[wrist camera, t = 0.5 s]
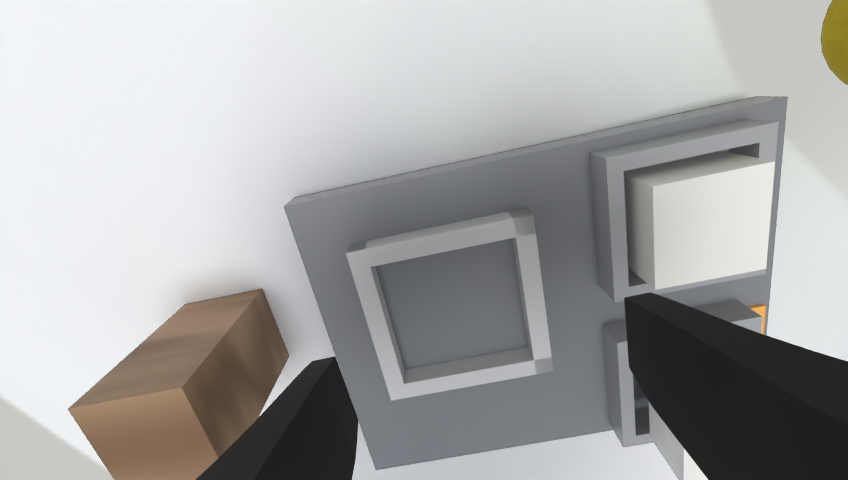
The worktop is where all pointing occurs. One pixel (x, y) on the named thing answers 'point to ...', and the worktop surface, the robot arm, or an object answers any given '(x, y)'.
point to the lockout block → (185, 390)
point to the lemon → (836, 38)
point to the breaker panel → (538, 276)
